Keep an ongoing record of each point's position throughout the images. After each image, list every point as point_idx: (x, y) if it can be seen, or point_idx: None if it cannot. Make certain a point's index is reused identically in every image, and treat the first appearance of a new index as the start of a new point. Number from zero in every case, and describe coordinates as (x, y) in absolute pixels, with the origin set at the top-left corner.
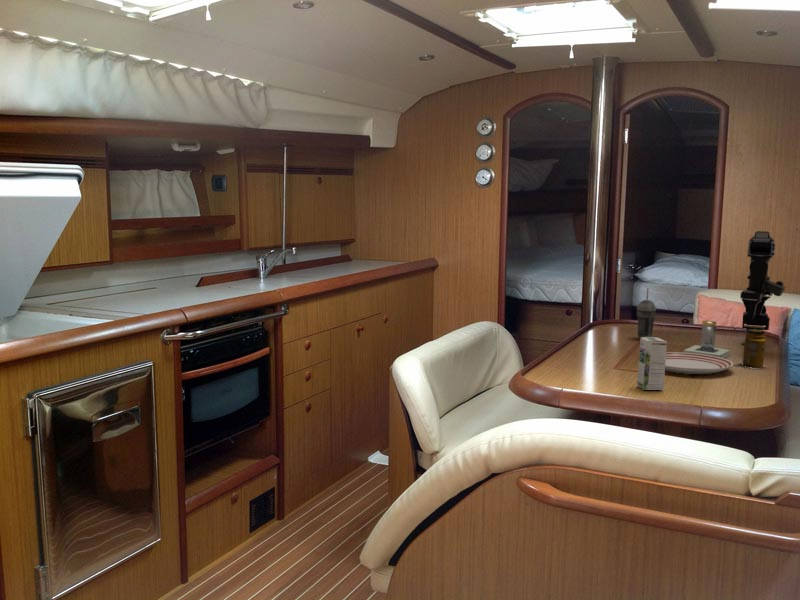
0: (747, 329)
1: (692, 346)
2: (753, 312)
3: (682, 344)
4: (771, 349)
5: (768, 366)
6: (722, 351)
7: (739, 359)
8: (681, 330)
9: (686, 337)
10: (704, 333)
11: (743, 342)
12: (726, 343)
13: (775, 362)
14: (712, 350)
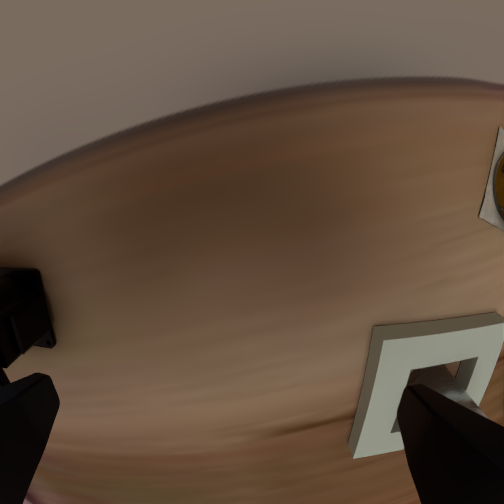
0: (2, 366)
1: (386, 452)
2: (490, 430)
3: (246, 489)
4: (45, 210)
5: (500, 127)
6: (440, 348)
7: (436, 264)
8: (39, 485)
9: (111, 488)
10: None
11: (34, 344)
12: (82, 396)
13: (398, 103)
14: (453, 377)
